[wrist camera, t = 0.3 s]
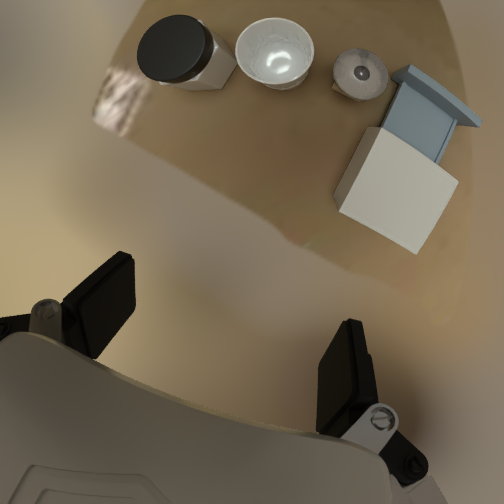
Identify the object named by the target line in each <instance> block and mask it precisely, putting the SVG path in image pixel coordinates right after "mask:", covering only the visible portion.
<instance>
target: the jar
mask: <svg viewBox="0 0 504 504" xmlns="http://www.w3.org/2000/svg"><path fill="white" fill-rule="evenodd" d="M137 61H138V65H139V67H140V69H141V71H142V72H143V73H144V74H145V75H146V76H147V77H148V78H150V79H152V80H155V81H159V83H160V84H161V85H165V86H170V87H175V88H180V89H185V90H189V91H198V90H213V89H222V88H223V86H224V84H225V83H226V81H227V80H228V78H229V76H230V75H231V73H232V72H233V70H234V69H235V67H236V66H237V64H238V62H237V60H236V58H235V57H234V55H233V54H232V52H231V50H230V49H229V47H228V46H227V44H226V43H225V41H224V40H223V39H222V38H221V37H220V36H219V35H217V34H216V33H215V32H214V31H213V30H212V29H211V28H209V27H208V26H207V25H206V24H205V23H204V22H202V21H201V20H196V19H195V18H193V17H190V16H187V15H172V16H168V17H166V18H163V19H161V20H159V21H158V22H156V23H155V24H153V25H152V26H151V27H150V28H149V29H148V30H147V31H146V33H145V34H144V35H143V37H142V39H141V41H140V43H139V46H138V50H137Z"/></svg>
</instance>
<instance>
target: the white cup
mask: <svg viewBox="0 0 504 504" xmlns="http://www.w3.org/2000/svg"><path fill="white" fill-rule="evenodd" d="M235 55H236V59H237V62H238V64H239V66H240V68H241V69H242V70H243V71H244V73H246V74H247V75H248V76H249V77H251V78H252V79H254V80H256V81H258V82H259V83H261V84H263V85H265V86H267V87H270V88H273V89H277V90H280V91H281V90H290V89H293V88H295V87H296V86H298V85H300V84H301V83H302V82H303V80H304V79H305V78H306V76H307V74H308V72H309V70H310V67H311V64H312V61H313V57H314V45H313V42H312V39H311V37H310V36H309V34H308V33H307V32H306V30H305V29H304V28H302V27H301V26H300V25H298V24H297V23H295V22H293V21H290V20H287V19H283V18H266V19H262V20H259V21H256V22H254V23H252V24H251V25H249V26H248V27H247V28H246V29H245V30H244V31H243V32H242V33H241V34H240V36H239V38H238V40H237V43H236V47H235Z"/></svg>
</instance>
